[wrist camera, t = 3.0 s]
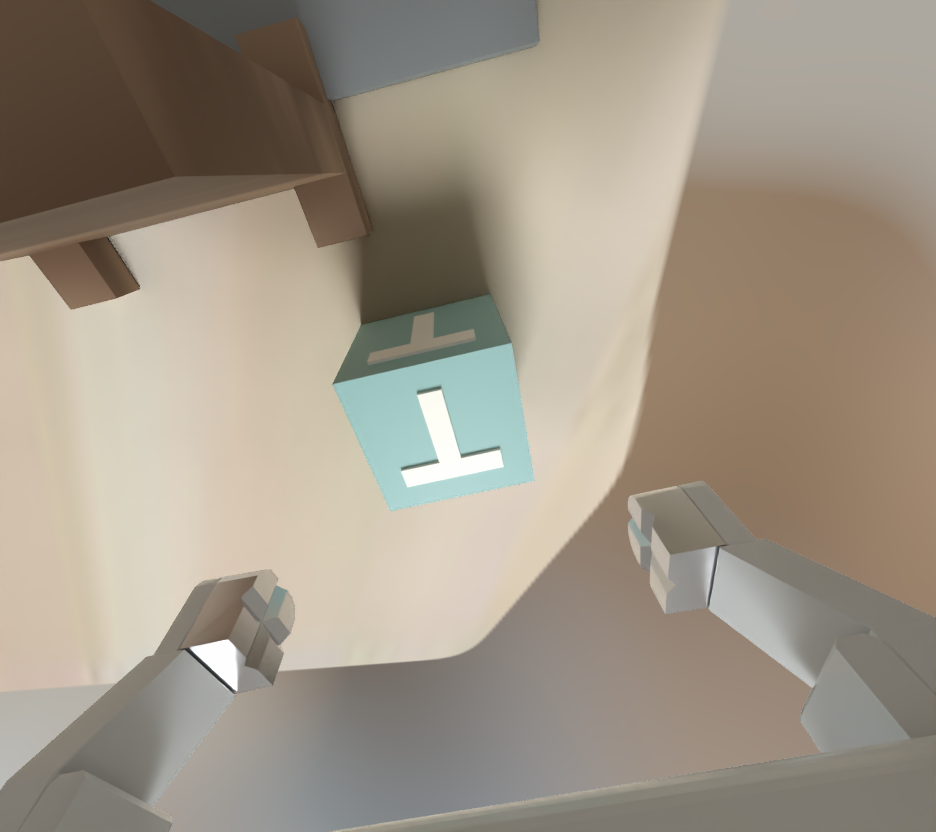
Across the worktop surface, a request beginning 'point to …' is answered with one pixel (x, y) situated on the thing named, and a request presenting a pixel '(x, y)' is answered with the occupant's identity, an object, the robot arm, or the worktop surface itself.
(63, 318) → the worktop surface
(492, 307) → the letter cube
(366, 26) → the grey mat
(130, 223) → the walnut screen
